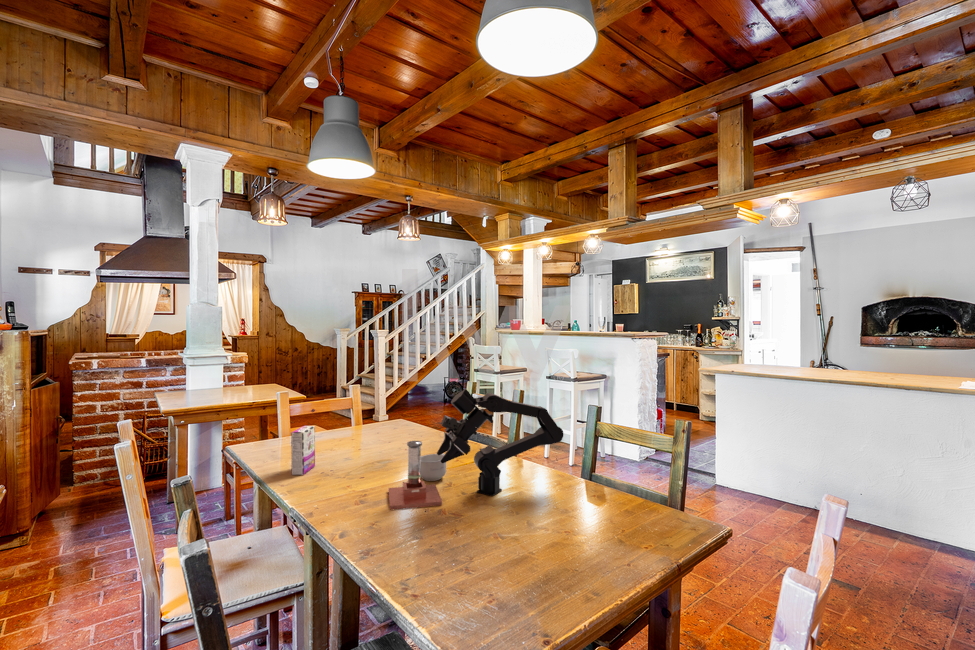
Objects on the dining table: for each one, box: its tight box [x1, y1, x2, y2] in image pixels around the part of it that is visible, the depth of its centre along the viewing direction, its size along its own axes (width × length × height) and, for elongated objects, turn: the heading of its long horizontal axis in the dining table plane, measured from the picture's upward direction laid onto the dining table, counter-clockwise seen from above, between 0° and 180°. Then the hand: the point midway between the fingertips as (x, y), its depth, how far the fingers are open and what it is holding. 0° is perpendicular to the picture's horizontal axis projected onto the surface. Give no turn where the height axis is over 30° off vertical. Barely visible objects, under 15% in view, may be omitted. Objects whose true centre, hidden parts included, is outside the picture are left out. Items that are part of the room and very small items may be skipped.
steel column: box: [406, 440, 423, 484], centre depth 149 cm, size 5×5×13 cm
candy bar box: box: [290, 425, 316, 476], centre depth 176 cm, size 11×5×16 cm, turn 179°
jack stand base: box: [388, 480, 443, 511], centre depth 148 cm, size 16×16×4 cm
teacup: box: [421, 453, 447, 482], centre depth 169 cm, size 14×11×8 cm
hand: (439, 458), depth 151 cm, fingers open, 9 cm apart
